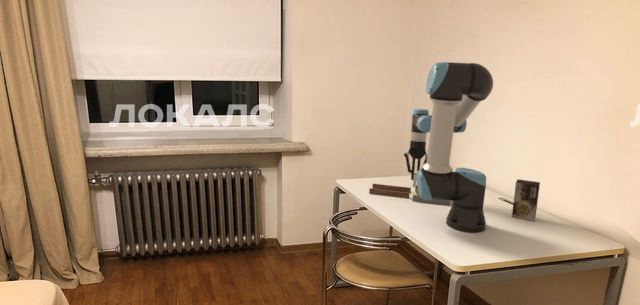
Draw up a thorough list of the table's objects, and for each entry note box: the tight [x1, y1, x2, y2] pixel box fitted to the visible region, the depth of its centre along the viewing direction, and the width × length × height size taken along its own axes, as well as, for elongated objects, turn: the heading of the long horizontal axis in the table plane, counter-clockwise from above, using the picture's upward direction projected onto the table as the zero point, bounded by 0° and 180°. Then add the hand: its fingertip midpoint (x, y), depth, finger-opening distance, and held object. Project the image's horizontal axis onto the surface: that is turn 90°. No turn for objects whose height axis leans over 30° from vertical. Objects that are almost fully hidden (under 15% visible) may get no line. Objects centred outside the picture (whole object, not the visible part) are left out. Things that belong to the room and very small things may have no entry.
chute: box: [368, 183, 412, 199], centre depth 200 cm, size 11×20×2 cm, turn 73°
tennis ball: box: [414, 184, 419, 195], centre depth 196 cm, size 7×7×7 cm
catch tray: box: [412, 194, 451, 206], centre depth 194 cm, size 19×17×3 cm
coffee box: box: [511, 178, 541, 222], centre depth 169 cm, size 9×6×16 cm
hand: (414, 186), depth 196 cm, fingers closed
